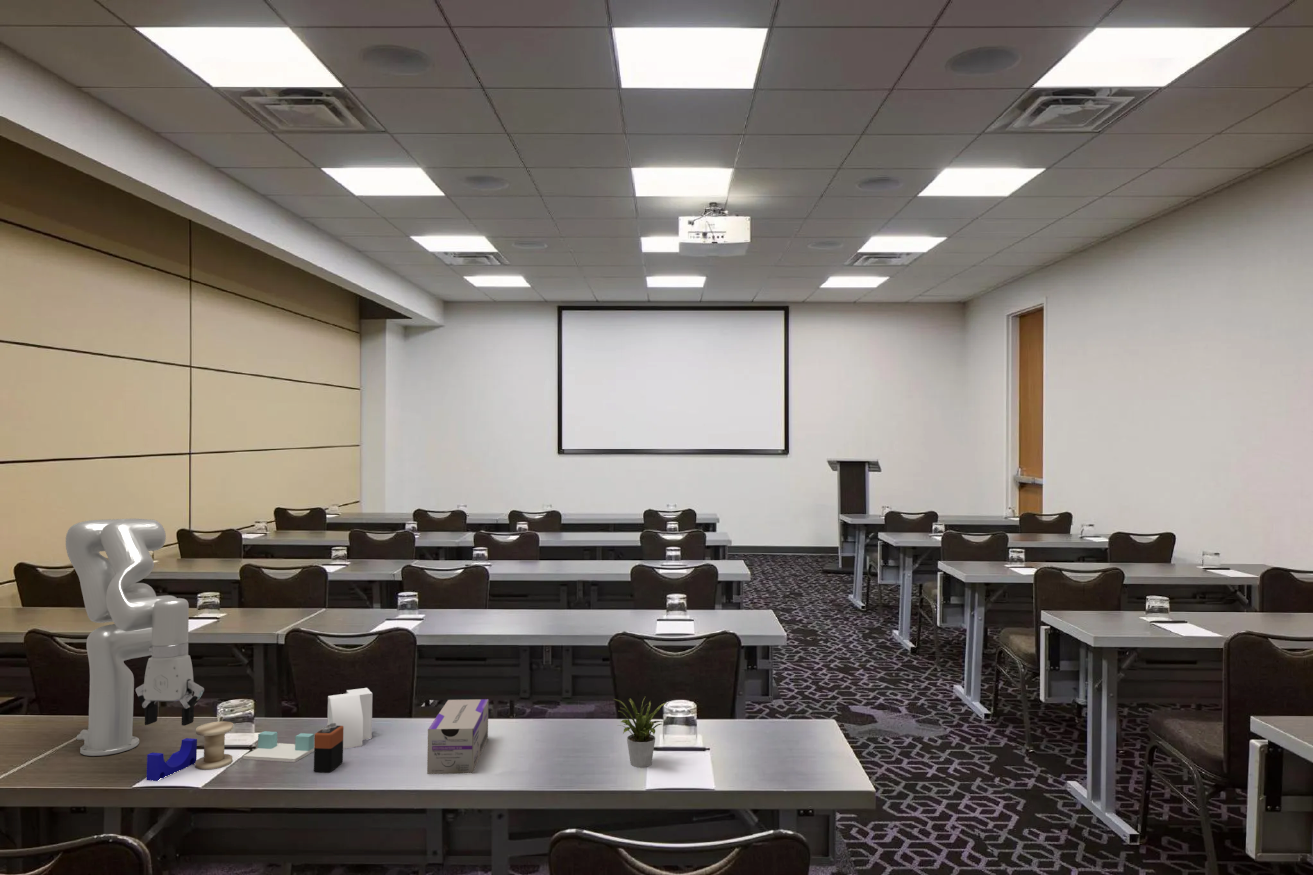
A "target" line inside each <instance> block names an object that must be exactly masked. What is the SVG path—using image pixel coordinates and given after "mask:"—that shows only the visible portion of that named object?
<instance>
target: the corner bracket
mask: <svg viewBox="0 0 1313 875" xmlns="http://www.w3.org/2000/svg"><path fill="white" fill-rule="evenodd" d="M331 723H336V726H343V750H344V749H345V750H346V749H350V748H357V747H362V746H363V741H365V739H366V740H370V739H369V738H372V732H373V730H372V729H373V692H372V691H371V690H370V689H369V688H368V687H364V688H355V689H346V693H343V694H342V693H340V694H333V695H328V696H327V725H326V726H328V725H329V724H331Z"/></svg>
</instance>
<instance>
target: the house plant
mask: <svg viewBox="0 0 1313 875" xmlns="http://www.w3.org/2000/svg"><path fill="white" fill-rule="evenodd" d="M646 696H647V695H645V696H644V698H643V700H642V702H641V705H643V703H644V701H645V698H646ZM614 700H615V701H617V702H619V703H620V704H622V705H623V707H624V708H623V707H621V709H622V710H624V711H625V712H626V713H627V714H628V716H629V717H630V718H631V720H632V722H633V723H632V722H631V720H630V718H629V717H628V716H627V714H625V712H623V711H621V710H619V712H620V713H622V715H624V716H625V717H626V719H622V720H621V721H620V723H622V724H623V725H621V724H620V725H619V724H618V725H616V726H617V727H618V726H621V727H623V732H622V735H624V733H627V732H629V733H630V734H628V736H626V742H627V748H628V755H629V762H630V765H631V766H632V767H636V768H646V767H650V766H651V765H652V763H653V756H654V749H655V745H656V744H655V743H656V736H655V733H656V728H657V727H658V726H660V725H661V726H662V725H663V722H664V721H663V720H654V721H652V720H653V718H654V716H655V715H656V714H657V713H658V712H659V710H661V708H662V706H665V705H666V704H667V702H664V703H662V704H661V705H659V706H658V707H657V708H656V709H655V710H654V711H653V712H651V713H650V711H651V704H652V703H651V701H649V702H648V703H646V704H645V705H644V706H641V707H640V712H639V711H638V709H637V707H636V704H635V702H634V701H633V699H632V698H631V697H630V698H629V699H628V701H629V703H630V705H631V709H632V711H633V713H634V716H635V719H634V717H633V714H632V713H631V712H630V711H629V709H628V707H627V705H626V704H625V703H624V702H622V701H621V700H619V699H615V698H614ZM646 705H648V706H647V708H646V711H645V712H646V713H645V715H643V713H644V710H645V707H646ZM649 713H650V714H649ZM660 722H661V723H660ZM656 723H657V724H656ZM655 724H656V725H655ZM624 725H625V726H624ZM626 726H628V727H626Z"/></svg>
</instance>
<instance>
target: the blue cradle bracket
mask: <svg viewBox="0 0 1313 875" xmlns="http://www.w3.org/2000/svg"><path fill="white" fill-rule="evenodd" d="M197 753H198V738H190V737H189V738H188V737H186V738H183V739H181V744H180V747H179V750H178V751H176V752H173V753H171V755H170V757H169V758H168V759H167V761H165V756H164V753H162V752H150V753H148V754H146V779H145V780H146V781H150V782H151V781H152V780H153V782H154V781H155V782H159V781H160V780H159V779H160V778H163V779H165V778H166V777H165V776H167V777H169V776H168V775H170V774H172V775H174V774H175V773H174V772H176V773H178V772H179V770H180V771H183V770H184V769H186V767H187V768H189V767H191V766H192V765H195V764H194V763H195V761H196V760H198V759H197ZM177 771H178V772H177ZM173 773H174V774H173ZM170 776H171V775H170ZM164 777H165V778H164ZM158 780H159V781H158Z"/></svg>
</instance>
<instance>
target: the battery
mask: <svg viewBox="0 0 1313 875" xmlns="http://www.w3.org/2000/svg"><path fill="white" fill-rule="evenodd" d="M343 759H344V749H343V726H336V723H331V724H329V725H328V726H327V725H326V726H324V727H321V729H320V730H319V731H317V732H316V733H314V751H313V771H314V772H316V773H331V772H332V771H333V770H335V769H336V768H338V767H339V766H340V765H342V763H344V762H343V761H344V760H343Z"/></svg>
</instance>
